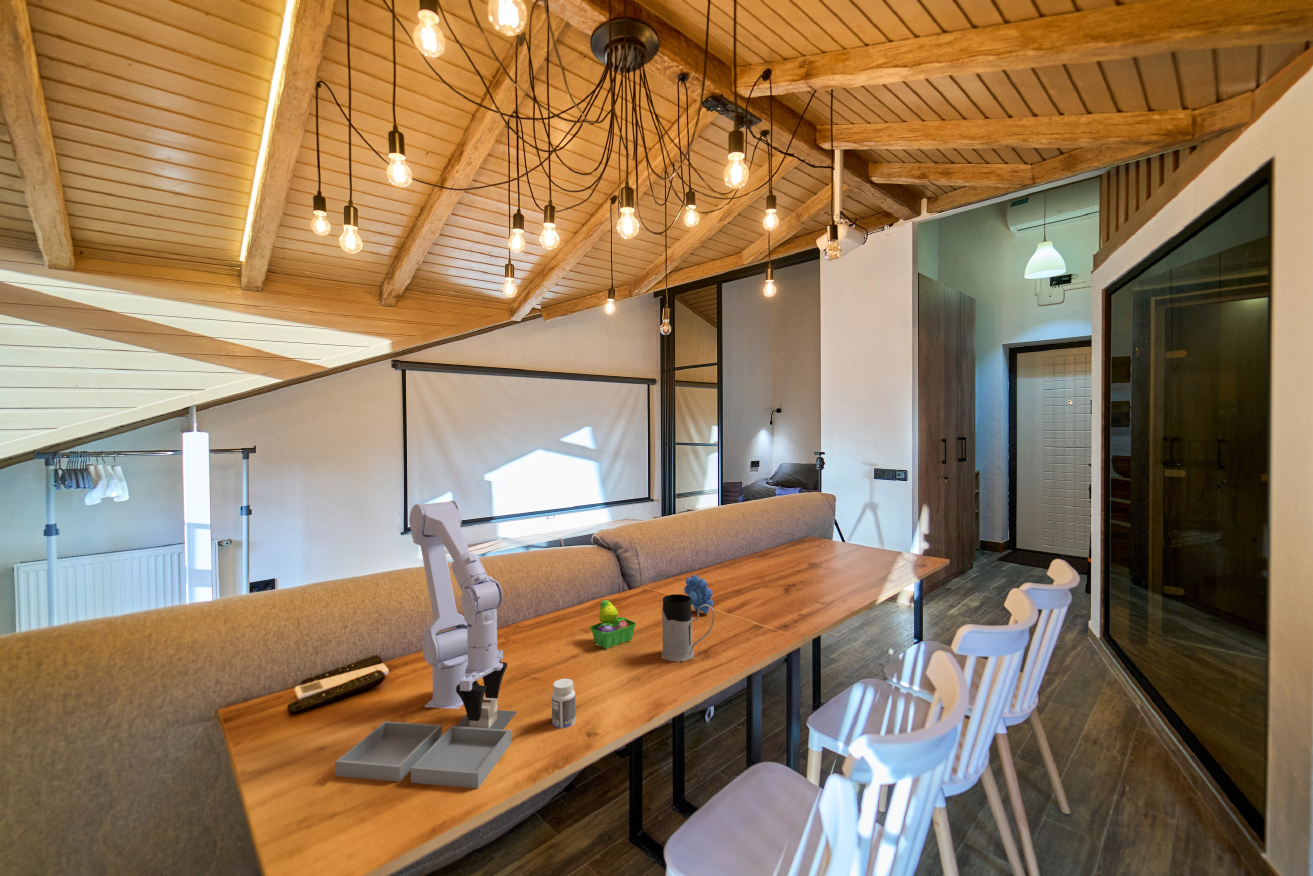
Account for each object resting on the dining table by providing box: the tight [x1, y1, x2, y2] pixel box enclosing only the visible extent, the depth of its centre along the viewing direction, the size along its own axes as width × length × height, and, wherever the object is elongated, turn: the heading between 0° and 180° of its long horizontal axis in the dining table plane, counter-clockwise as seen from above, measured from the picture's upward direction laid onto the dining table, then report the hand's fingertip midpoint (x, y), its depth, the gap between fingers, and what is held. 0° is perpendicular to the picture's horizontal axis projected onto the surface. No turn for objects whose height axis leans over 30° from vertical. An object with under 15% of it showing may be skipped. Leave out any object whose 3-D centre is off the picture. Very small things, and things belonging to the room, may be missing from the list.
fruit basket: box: [589, 599, 637, 650], centre depth 150 cm, size 11×9×11 cm
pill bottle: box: [551, 678, 577, 729], centre depth 107 cm, size 5×5×8 cm
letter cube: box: [470, 697, 498, 728], centre depth 107 cm, size 4×4×4 cm
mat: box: [455, 709, 518, 730], centre depth 107 cm, size 10×10×1 cm
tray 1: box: [334, 720, 443, 782], centre depth 96 cm, size 13×12×3 cm
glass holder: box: [660, 593, 715, 663], centre depth 140 cm, size 9×14×15 cm, turn 78°
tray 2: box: [410, 725, 512, 790], centre depth 94 cm, size 13×12×3 cm
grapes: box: [683, 574, 714, 614], centre depth 173 cm, size 12×7×12 cm, turn 48°
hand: (483, 709), depth 107 cm, fingers open, 7 cm apart
